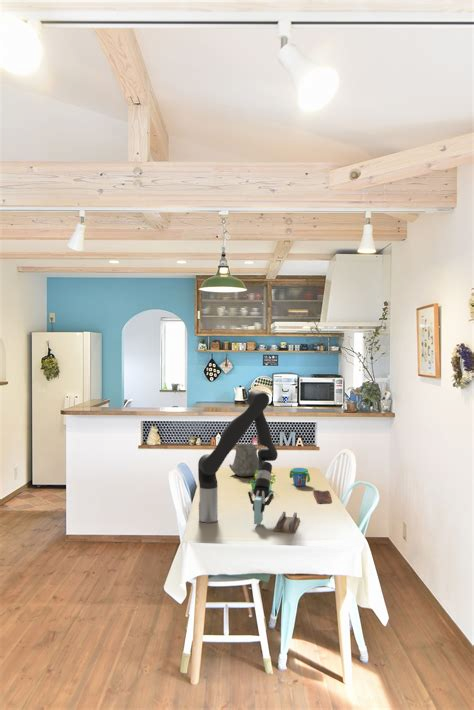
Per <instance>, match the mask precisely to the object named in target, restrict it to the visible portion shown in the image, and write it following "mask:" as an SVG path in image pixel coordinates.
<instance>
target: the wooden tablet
mask: <svg viewBox="0 0 474 710" xmlns="http://www.w3.org/2000/svg"><path fill="white" fill-rule="evenodd" d="M312 495H313V496H314V499H315V501H316V503H317V504H320V505H330V504H332V503H333V500H332V499H333V498H332V496H331V492H330V491H329V490H319V489H318V490H316V489H315V490H314V489H313V491H312Z"/></svg>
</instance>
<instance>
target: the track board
mask: <svg viewBox="0 0 474 710" xmlns="http://www.w3.org/2000/svg"><path fill="white" fill-rule="evenodd" d="M300 520H301V519H300V517H298V516H297V512H294V513H293V515H292V516H286V511H282V513H281V515H280V516H279V518H278V520H277V522H276V524H275V526H274V527H273V533H274V532H275V533H284V534H285V533H286V534H295V533H296V530H297V527H298V525H299V524H300V523H299V522H300Z"/></svg>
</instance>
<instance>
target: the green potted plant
mask: <svg viewBox="0 0 474 710" xmlns="http://www.w3.org/2000/svg"><path fill="white" fill-rule="evenodd" d="M257 473H258V470H257V471H256V472H255V475H254V479H255V480H250V481H249V483H250V487H251V488H252V491H253V490H254V488H255V483H256V477H257Z"/></svg>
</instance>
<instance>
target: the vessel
mask: <svg viewBox="0 0 474 710" xmlns="http://www.w3.org/2000/svg"><path fill="white" fill-rule="evenodd" d="M234 448H235V454H234V459H233V463H232V464H231V463H229V464H228V467H229V468H230V470H231V471H232V473H234V474H235V475H237V476H238V477H242V478H243V477H244V478H245V477H246V478H247V477H254V476H255V472H256V471H257V470H258V468H259V459H258V446H257V445H255V444H254V445H253V444H237V445H235V446H234Z"/></svg>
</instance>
